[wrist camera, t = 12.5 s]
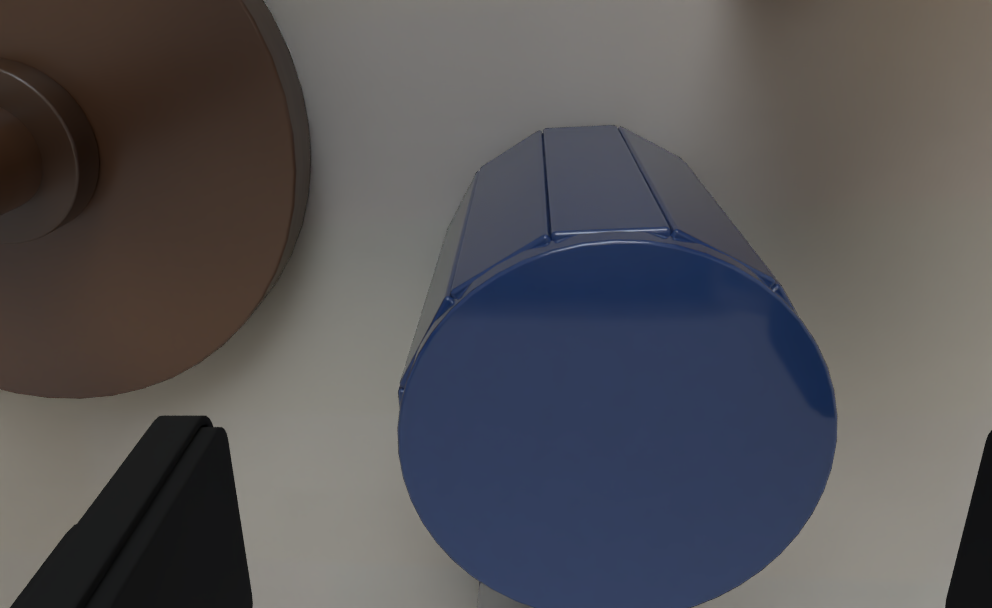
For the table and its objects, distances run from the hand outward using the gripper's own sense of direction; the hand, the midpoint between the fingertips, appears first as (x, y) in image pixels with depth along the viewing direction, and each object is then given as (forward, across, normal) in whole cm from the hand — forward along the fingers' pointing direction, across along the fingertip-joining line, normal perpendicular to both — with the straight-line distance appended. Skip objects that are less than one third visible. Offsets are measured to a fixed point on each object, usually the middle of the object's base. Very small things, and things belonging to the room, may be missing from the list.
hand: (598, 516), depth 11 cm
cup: (+12, -1, +1) cm, 12 cm away
